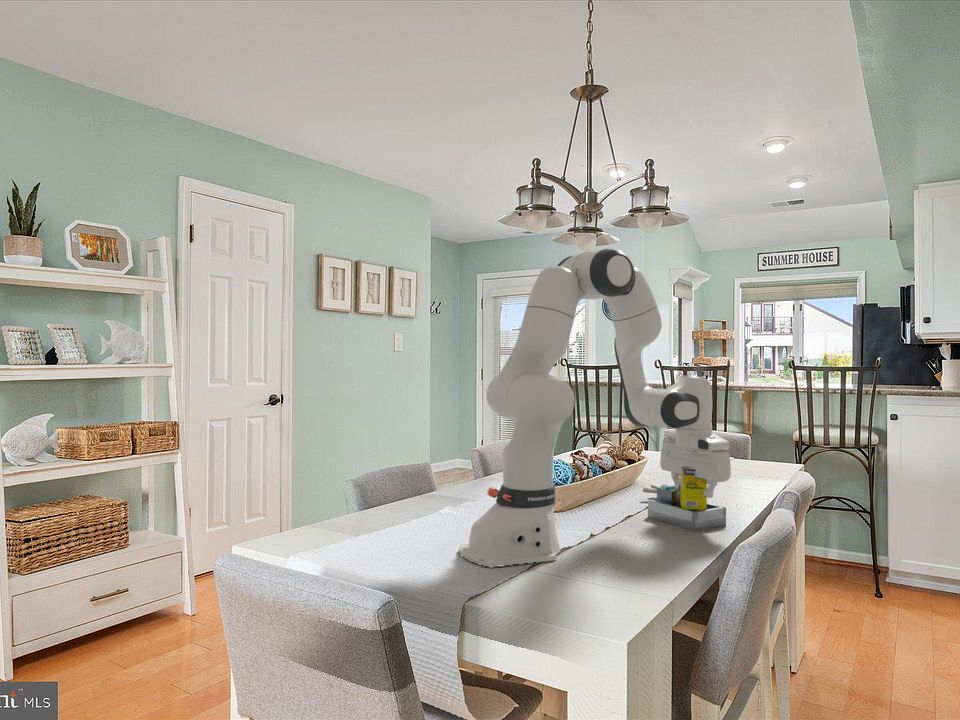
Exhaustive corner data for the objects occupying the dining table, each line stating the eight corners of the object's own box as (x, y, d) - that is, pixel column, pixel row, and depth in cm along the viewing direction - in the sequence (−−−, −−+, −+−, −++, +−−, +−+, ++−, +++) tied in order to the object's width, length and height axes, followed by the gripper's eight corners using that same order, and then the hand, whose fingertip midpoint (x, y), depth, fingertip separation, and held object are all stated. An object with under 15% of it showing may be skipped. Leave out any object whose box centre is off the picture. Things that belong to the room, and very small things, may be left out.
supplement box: (707, 513, 163) (707, 469, 163) (682, 512, 164) (682, 468, 164) (703, 507, 169) (704, 465, 169) (679, 506, 170) (679, 464, 170)
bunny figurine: (692, 494, 182) (641, 481, 191) (689, 512, 182) (639, 498, 192) (703, 489, 189) (654, 476, 199) (701, 506, 190) (652, 493, 199)
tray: (695, 531, 159) (695, 497, 159) (647, 516, 173) (648, 485, 173) (725, 525, 165) (726, 492, 165) (677, 511, 179) (678, 481, 179)
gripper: (654, 435, 174) (654, 487, 174) (717, 445, 156) (716, 503, 156) (672, 434, 177) (671, 485, 177) (735, 443, 159) (734, 500, 159)
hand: (693, 493), depth 167 cm, fingers closed on supplement box, 8 cm apart
